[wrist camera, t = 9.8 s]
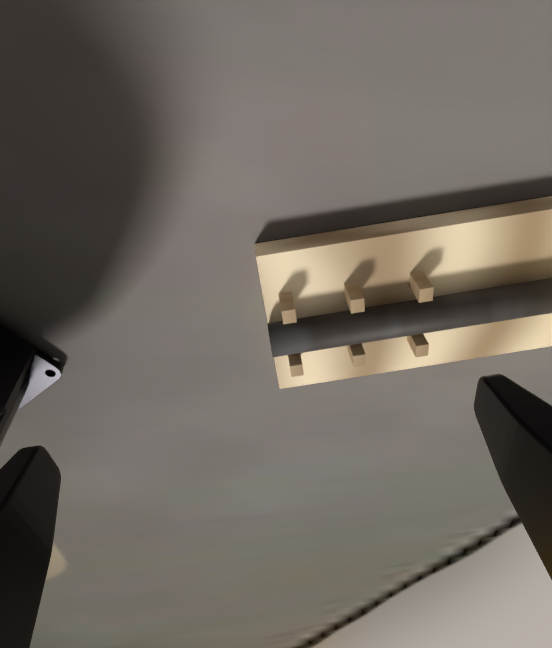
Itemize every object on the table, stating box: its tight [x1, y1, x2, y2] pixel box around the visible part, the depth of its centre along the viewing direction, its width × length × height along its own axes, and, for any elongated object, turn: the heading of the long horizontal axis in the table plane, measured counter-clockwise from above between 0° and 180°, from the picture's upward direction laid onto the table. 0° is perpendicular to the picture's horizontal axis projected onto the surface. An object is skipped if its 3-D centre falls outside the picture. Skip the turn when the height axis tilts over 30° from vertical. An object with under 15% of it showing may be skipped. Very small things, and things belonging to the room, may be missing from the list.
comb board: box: [255, 196, 552, 389], centre depth 22 cm, size 22×8×4 cm, turn 98°
